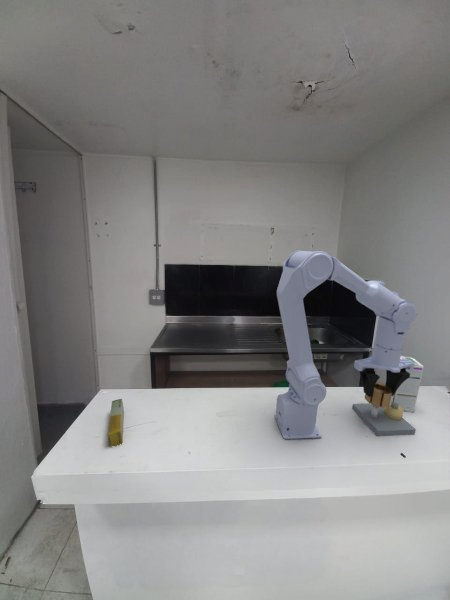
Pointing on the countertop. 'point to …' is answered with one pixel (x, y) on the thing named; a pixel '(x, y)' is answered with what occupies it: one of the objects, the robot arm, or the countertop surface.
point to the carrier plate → (384, 419)
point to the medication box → (116, 423)
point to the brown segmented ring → (380, 395)
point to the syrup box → (409, 387)
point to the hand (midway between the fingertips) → (378, 394)
